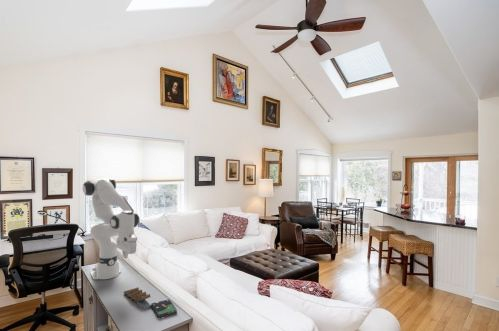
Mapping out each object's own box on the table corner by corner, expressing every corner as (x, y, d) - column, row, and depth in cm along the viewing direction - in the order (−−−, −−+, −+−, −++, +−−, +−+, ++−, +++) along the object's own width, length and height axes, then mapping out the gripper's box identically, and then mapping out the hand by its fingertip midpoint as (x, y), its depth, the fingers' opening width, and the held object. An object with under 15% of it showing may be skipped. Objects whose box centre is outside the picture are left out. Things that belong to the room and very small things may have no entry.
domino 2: (127, 294, 163) (133, 292, 156) (135, 291, 166) (141, 289, 160) (127, 297, 162) (134, 295, 156) (135, 294, 166) (142, 292, 159)
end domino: (144, 301, 158) (154, 307, 152) (136, 304, 154) (146, 310, 148) (144, 298, 158) (154, 303, 152) (136, 301, 154) (146, 307, 148)
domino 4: (134, 298, 156) (141, 296, 150) (142, 295, 160) (149, 293, 154) (134, 302, 155) (142, 300, 149) (143, 299, 159) (150, 297, 153)
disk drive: (150, 308, 150) (157, 320, 138) (150, 303, 150) (157, 314, 138) (169, 303, 156) (177, 314, 144) (169, 298, 156) (177, 309, 144)
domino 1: (123, 291, 166) (130, 289, 160) (131, 289, 170) (138, 287, 164) (124, 294, 165) (130, 292, 159) (132, 292, 169) (138, 290, 163)
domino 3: (130, 296, 159) (137, 294, 153) (138, 293, 163) (145, 291, 157) (131, 299, 158) (138, 297, 152) (139, 296, 162) (146, 294, 156)
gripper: (114, 233, 177) (113, 254, 176) (128, 240, 163) (127, 262, 163) (123, 232, 181) (122, 252, 181) (138, 238, 168) (137, 260, 168)
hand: (125, 257), depth 172 cm, fingers closed
